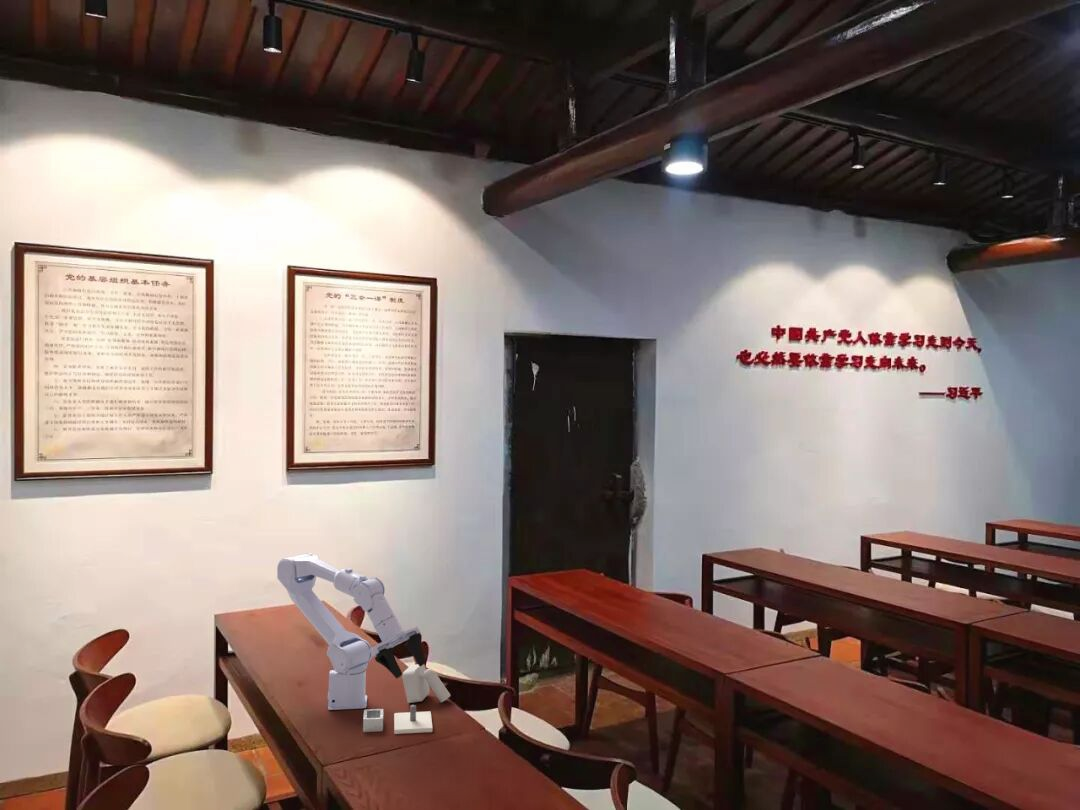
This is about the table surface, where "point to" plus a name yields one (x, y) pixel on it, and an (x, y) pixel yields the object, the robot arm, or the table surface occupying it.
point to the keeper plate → (412, 721)
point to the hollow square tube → (373, 720)
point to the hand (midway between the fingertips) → (411, 670)
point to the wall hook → (422, 684)
